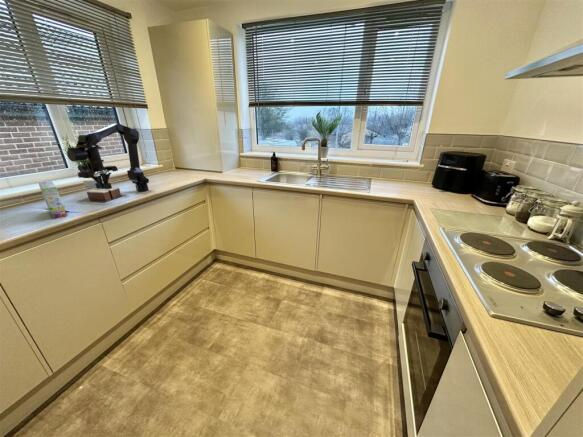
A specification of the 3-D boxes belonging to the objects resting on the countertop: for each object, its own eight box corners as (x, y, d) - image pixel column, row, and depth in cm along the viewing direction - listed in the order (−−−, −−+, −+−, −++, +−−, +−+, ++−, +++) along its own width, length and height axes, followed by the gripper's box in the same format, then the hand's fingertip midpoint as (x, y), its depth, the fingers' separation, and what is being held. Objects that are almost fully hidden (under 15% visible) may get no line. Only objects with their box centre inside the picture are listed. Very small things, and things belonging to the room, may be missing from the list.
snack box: (68, 215, 119) (56, 186, 114) (53, 219, 115) (40, 188, 110) (62, 206, 133) (51, 180, 127) (48, 209, 129) (36, 182, 123)
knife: (112, 188, 135) (109, 181, 133) (108, 189, 133) (106, 182, 131) (88, 187, 138) (85, 180, 137) (84, 188, 136) (81, 181, 135)
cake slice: (110, 198, 142) (108, 190, 141) (105, 200, 139) (102, 192, 137) (94, 197, 145) (92, 189, 143) (89, 199, 142) (86, 191, 140)
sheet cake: (121, 195, 149) (118, 187, 147) (112, 197, 144) (110, 189, 142) (105, 194, 151) (103, 186, 149) (96, 197, 146) (93, 189, 144)
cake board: (128, 196, 149) (127, 194, 149) (105, 204, 135) (104, 202, 135) (102, 195, 153) (101, 193, 153) (76, 202, 139) (76, 201, 139)
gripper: (98, 155, 138) (107, 182, 144) (64, 161, 122) (75, 190, 128) (114, 155, 136) (122, 182, 142) (81, 161, 119) (92, 191, 125)
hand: (104, 186), depth 134 cm, fingers closed on knife, 2 cm apart
